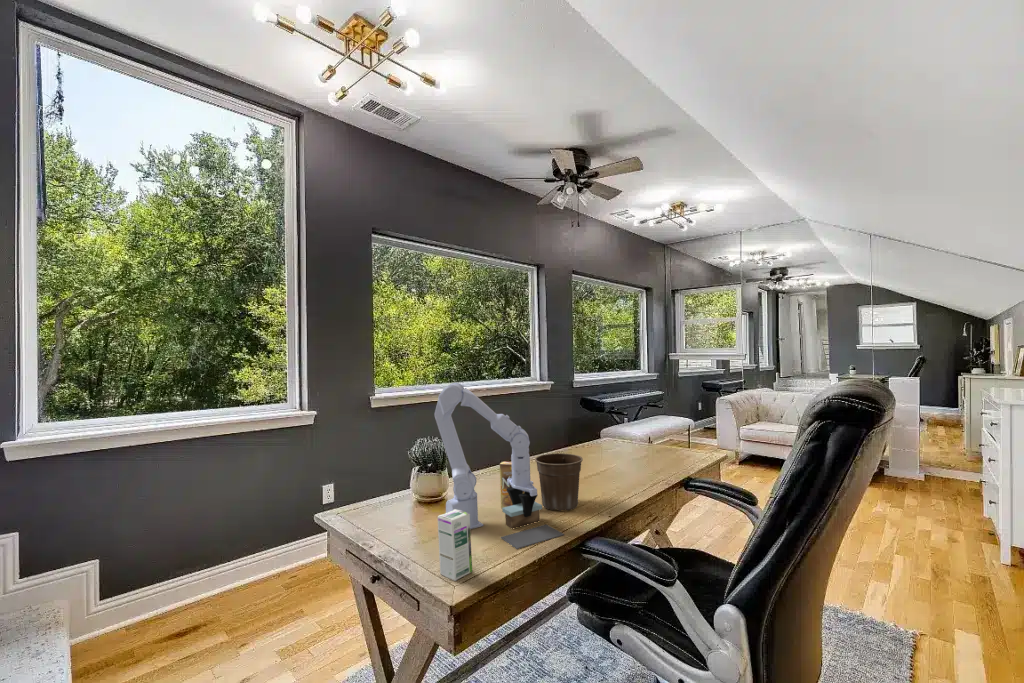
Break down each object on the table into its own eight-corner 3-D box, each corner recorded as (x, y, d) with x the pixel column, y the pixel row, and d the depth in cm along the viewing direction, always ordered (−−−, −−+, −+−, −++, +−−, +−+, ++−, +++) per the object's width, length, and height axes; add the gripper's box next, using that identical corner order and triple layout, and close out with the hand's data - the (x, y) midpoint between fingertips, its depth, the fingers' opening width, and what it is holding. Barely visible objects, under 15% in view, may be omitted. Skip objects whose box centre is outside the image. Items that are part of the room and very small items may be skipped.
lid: (511, 517, 136) (511, 512, 136) (502, 511, 141) (502, 507, 141) (542, 509, 142) (542, 505, 142) (532, 504, 147) (532, 500, 147)
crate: (512, 529, 137) (511, 515, 137) (505, 524, 141) (505, 511, 141) (539, 521, 142) (539, 508, 142) (532, 517, 146) (532, 505, 146)
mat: (516, 549, 123) (516, 548, 123) (500, 538, 131) (500, 537, 131) (564, 535, 132) (564, 534, 132) (546, 525, 139) (546, 524, 139)
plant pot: (562, 494, 168) (560, 450, 168) (594, 505, 155) (592, 458, 155) (527, 504, 158) (525, 458, 158) (558, 517, 145) (556, 467, 145)
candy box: (500, 508, 155) (498, 463, 155) (505, 504, 159) (503, 460, 159) (525, 511, 152) (523, 465, 152) (529, 507, 155) (527, 462, 156)
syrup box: (455, 581, 107) (452, 520, 108) (439, 574, 111) (437, 514, 111) (472, 572, 112) (470, 513, 112) (456, 565, 116) (454, 507, 116)
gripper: (544, 472, 137) (546, 517, 137) (519, 462, 150) (521, 504, 150) (525, 476, 134) (526, 522, 134) (500, 466, 146) (502, 508, 146)
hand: (522, 513), depth 141 cm, fingers closed on lid, 5 cm apart
